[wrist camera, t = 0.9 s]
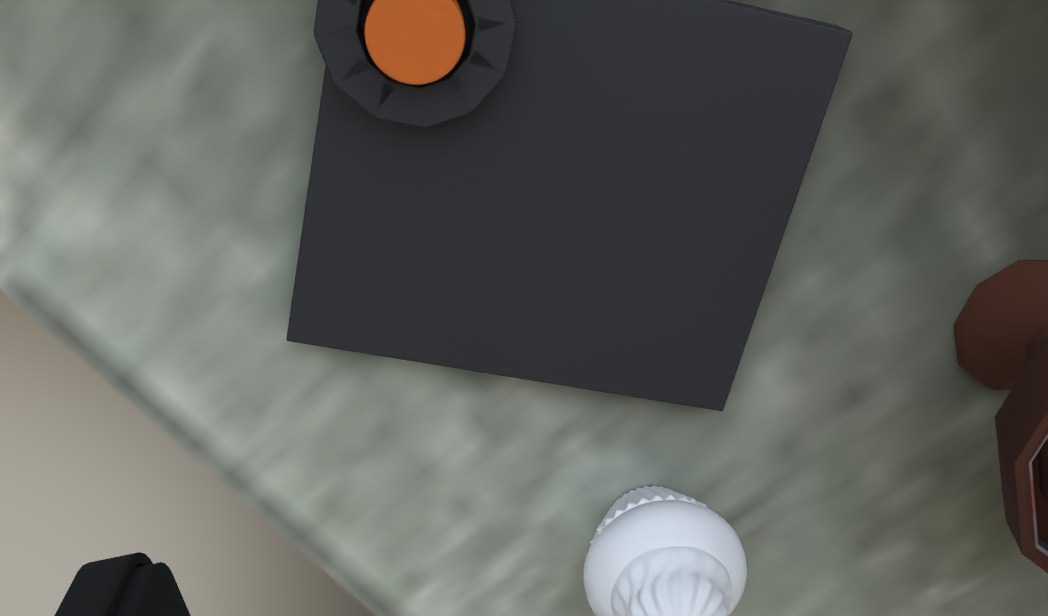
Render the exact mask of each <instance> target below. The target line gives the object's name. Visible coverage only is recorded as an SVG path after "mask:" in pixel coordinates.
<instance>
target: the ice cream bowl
mask: <svg viewBox="0 0 1048 616" xmlns="http://www.w3.org/2000/svg"><path fill="white" fill-rule="evenodd" d="M954 331H955V340H956V349H957V358H958V364H959V365H960V366H962V367H963V368H964V369H965V370H967V371H968V372H969V373H970V374H972V375H973V376H974V377H975V378H977V379H978V380H979V381H981V382H982V383H983V384H984V385H986V386H987V387H990V388H993V389H995V390H1011V392H1010V393H1009V395H1008V397H1007V398H1006V400H1005V401H1004V403H1003V405H1002V406H1001V408H1000V410H999V411H998V413H997V414H996V416H995V420H996V431H997V441H998V452H999V462H1000V473H1001V483H1002V493H1003V501H1004V508H1005V516H1006V522H1007V524H1008V526H1009V528H1010V530H1011V532H1012V534H1013V536H1014V538H1015V540H1016V542H1017V544H1018V546H1019V549H1020V551H1021V553H1022V555H1024V556H1025V557H1027V558H1028V559H1029V560H1031V561H1032V562H1033V563H1035V564H1036V565H1038V566H1039V567H1040V568H1042V569H1043V570H1044V571H1046V572H1047V573H1048V260H1019V261H1017V262H1015V263H1014V264H1012V265H1010V266H1009V267H1007V268H1005V269H1003V270H1002V271H1000V272H998V273H997V274H995V275H993V276H992V277H990V278H988V279H987V280H985V281H983V282H982V283H980V284H978V285H977V286H976V288H975V289H974V291H973V293H972V295H971V296H970V298H969V300H968V302H967V303H966V305H965V307H964V309H963V310H962V312H961V314H960V315H959V317H958V319H957V321H956V322H955V324H954Z"/></svg>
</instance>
